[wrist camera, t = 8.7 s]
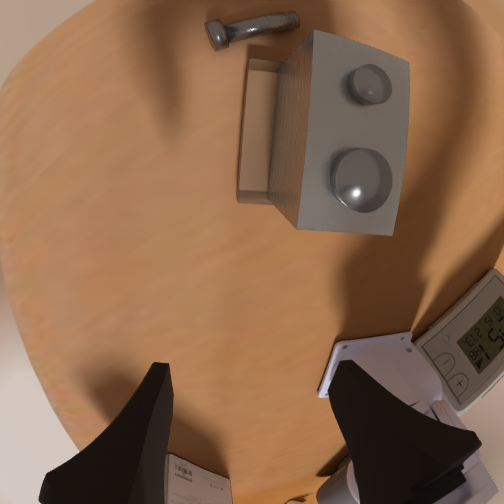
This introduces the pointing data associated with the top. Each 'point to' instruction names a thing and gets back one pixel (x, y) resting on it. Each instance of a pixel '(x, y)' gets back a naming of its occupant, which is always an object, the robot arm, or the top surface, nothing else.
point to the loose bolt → (249, 28)
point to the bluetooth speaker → (337, 487)
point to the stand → (257, 131)
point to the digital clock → (468, 344)
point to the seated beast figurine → (294, 502)
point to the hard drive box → (193, 484)
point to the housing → (339, 136)
